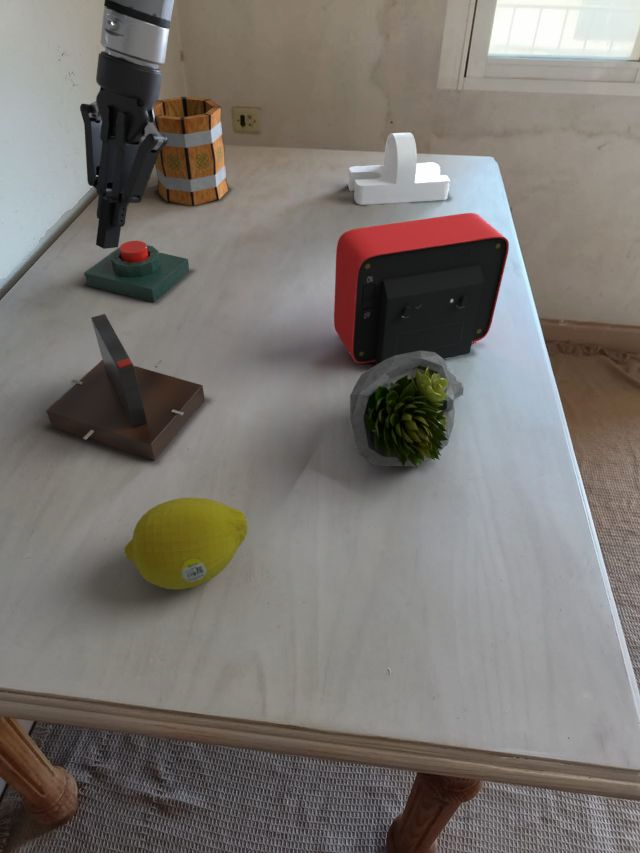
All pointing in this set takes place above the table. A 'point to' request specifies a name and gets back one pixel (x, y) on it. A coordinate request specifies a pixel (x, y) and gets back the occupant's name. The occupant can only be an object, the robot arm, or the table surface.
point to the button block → (138, 274)
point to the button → (134, 251)
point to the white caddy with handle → (398, 176)
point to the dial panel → (107, 420)
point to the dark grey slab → (119, 370)
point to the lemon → (185, 542)
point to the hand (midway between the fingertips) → (107, 245)
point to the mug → (190, 151)
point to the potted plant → (404, 409)
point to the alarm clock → (417, 286)
